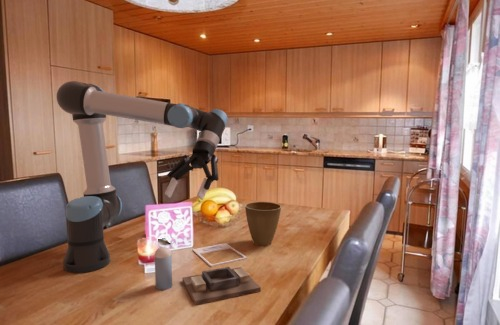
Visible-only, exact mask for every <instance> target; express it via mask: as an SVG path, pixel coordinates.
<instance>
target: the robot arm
mask: <svg viewBox="0 0 500 325" xmlns="http://www.w3.org/2000/svg"><path fill="white" fill-rule="evenodd" d="M56 102H57V104H58V106H59V107H60V108H61V109H62V110H63V111H64V112H66V113H67V114H69V115H71V117H72V122H73V123H75V124H76V125H77V127H78V133H79V134H78V135H79V141H80V147H81V154H82V162H83V169H84V176H85V183H86V184H85V185H86V189H85V190H84V191H83V193H82V194H83V196H81V197H77V198H73V199H72V200H70V201H69V202H67V203H66V205H65V213H64V214H65V215H64V216H65V220H66V222H65V223H66V224H65V225H66V234H67V235H66V236H67V248H66V251H65V255H64V258H63V262H62V264H63V270H64V271H65V270H66V271H65V272H68V273H77V274H79V273H80V274H81V273H89V272H93V271H98V270H100V269H102V268H105V267H106V266H108V265H109V264H110V262H111V255H110V252H109V249H108V247H107V244H106V242H105V237H104V236H105V234H104V232H105V231H104V227H105V226H107V225H109V224H110V223H112V222H114V221H115V220H116V219H117V218H118V217H119V216H120V214H121V212H122V209H123V203H122V199H121V198H120V196H118V194H117V191H116V190H117V189H116V187H115V186H114V185H112V183H111V182H112V181H111V176H110V169H109V161H108V154H107V146H106V137H105V132H104V123H105V121H106V120H107V116H111V117H117V118H123V119H128V120H134V121H140V122H148V123H153V124H159V125H164V126H170V127H174V128H178V129H185V128H190V129H193V130H195V131H198V132H200V133H199V135H198V137H197V138H196V141H195V143H194V146H193V148H192V152H191V153H192V154H191V155H190V156H188V155H187V154H184V155H183V156H182V158H181V160H180V161H179V162H178V163H177V164H176V165H174V167H173V168H172V169H171V170H170V171H169V172H168V173H166V174H167V177H168V178H169V181H168V184H167V186H166V187H167V188H166V189H165V191H164V195H165V196H167V198H170V199H171V198H172V196H173V194H174V192H175V189H176V187H177V185H178V183H179V181H178V180H180V179H181V178H182V177H183V176H185V174H187V173H188V172H190V171H193V170H194V169H195V170H198V169H199V170H201V169H203V172H204V174H205V177H204V178H203V180H202V182H201V184H200V186H199V189H198V192H197V194H196V196H197V197H198V198H199V199H200V200H204V197H205V196H206V193H207V191H208V190H209V189H210V187H211V186H212V184H213V182H214V181H217V182H218V181H219V170H218V161H219V159H218V157H217V156H216V154H215V151H216V149H217V147H218V145H219V143H220V140H221V137H222V136H223V134H224V131H225V129H226V126H227V123H228V115H227V113H226V112H225V111H223V110H221V109H219V108H218V109H215V108H213V109H211V110H210V111H209V112H208V111H204V110H201V109H199V108H196V107H194V106H191V105H189V104H186V103H182V102H178V103H174V102H173V103H171V102H165V101H160V100H155V99H148V98H143V97H138V96H137V97H136V96H131V95H124V94H118V93H114V92H113V93H112V92H108V91H105V90H103V89H102V88H101V87H99V86H98V85H96V84H92V83H86V82H81V81H78V80H77V81H73V80H72V81H71V80H70V81H67V82H64V83H62V85H60V86H59V88H58V89H57V91H56ZM209 163H210V169H209ZM210 170H211V171H210Z"/></svg>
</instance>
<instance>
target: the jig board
mask: <svg viewBox="0 0 500 325" xmlns="http://www.w3.org/2000/svg"><path fill="white" fill-rule="evenodd" d="M181 279H182V283H183V285H184V287H185V288H186V290H187V292H188V294H189V296H190V297H191V299H192V301H193V303H194V304H195V306H198V305H201V304H205V303H206V304H207V303H212V302H215V301H220V300H226V299H230V298H235V297H239V296H243V295H248V294H254V293H258V292H261V290H262V288H261V285H259V284H258V283H257V282H256V281H255V280H254V279H253V278H252V277H251V276H250V274H249V273H248V272H246V270H245V269H244V268H242V267H241V266H240V267H235V268H231V267H229V266H226V267H221V268H220V267H219V268H215V269H214V268H213V269H210V270H209V269H208V270H204V271H203V270H202V271H201V274H196V275H191V276H185V277H182V278H181Z"/></svg>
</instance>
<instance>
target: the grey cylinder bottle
mask: <svg viewBox="0 0 500 325" xmlns="http://www.w3.org/2000/svg"><path fill="white" fill-rule="evenodd" d="M172 262H173V261H172V251H171V249H170V248H169V247H166V246H160V247H159V248H157V249H156V250H155V253H154V274H155V277H154V278H155V289H157V290H158V291H164V290H169V289H171V288H172V287H173V266H172Z"/></svg>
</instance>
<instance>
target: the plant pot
mask: <svg viewBox="0 0 500 325" xmlns="http://www.w3.org/2000/svg"><path fill="white" fill-rule="evenodd" d="M244 208H245V216H246V221H247V226H248V229H249V234H250V237H251V240H252V242H253V244H254V245H256V246H262V247H263V246H264V247H265V246H270V245H271V244H272V242H273V240H274V237H275V234H276V231H277V229H278V224H279V222H280V215H281V212H282V211H281V209H282V205H281V204H279V203H277V202H276V203H275V202H270V201H269V202H268V201H254V202H248V203H246V204H245V205H244Z"/></svg>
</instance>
